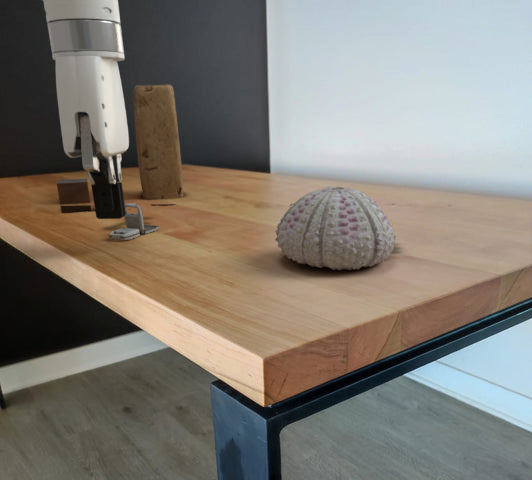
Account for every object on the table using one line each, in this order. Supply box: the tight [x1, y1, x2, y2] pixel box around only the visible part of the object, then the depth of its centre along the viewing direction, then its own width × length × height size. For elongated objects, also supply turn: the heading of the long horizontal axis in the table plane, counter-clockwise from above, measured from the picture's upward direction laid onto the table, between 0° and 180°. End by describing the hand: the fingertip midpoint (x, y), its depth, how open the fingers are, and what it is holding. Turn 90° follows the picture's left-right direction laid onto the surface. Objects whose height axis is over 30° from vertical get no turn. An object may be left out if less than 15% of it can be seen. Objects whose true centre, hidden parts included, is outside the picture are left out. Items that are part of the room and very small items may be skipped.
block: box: [132, 83, 184, 207], centre depth 98 cm, size 11×8×20 cm
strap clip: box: [108, 203, 160, 241], centre depth 76 cm, size 8×3×4 cm, turn 157°
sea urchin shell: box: [274, 185, 397, 271], centre depth 60 cm, size 13×14×8 cm
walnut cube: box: [56, 178, 93, 214], centre depth 95 cm, size 5×5×5 cm
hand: (111, 217), depth 66 cm, fingers closed
